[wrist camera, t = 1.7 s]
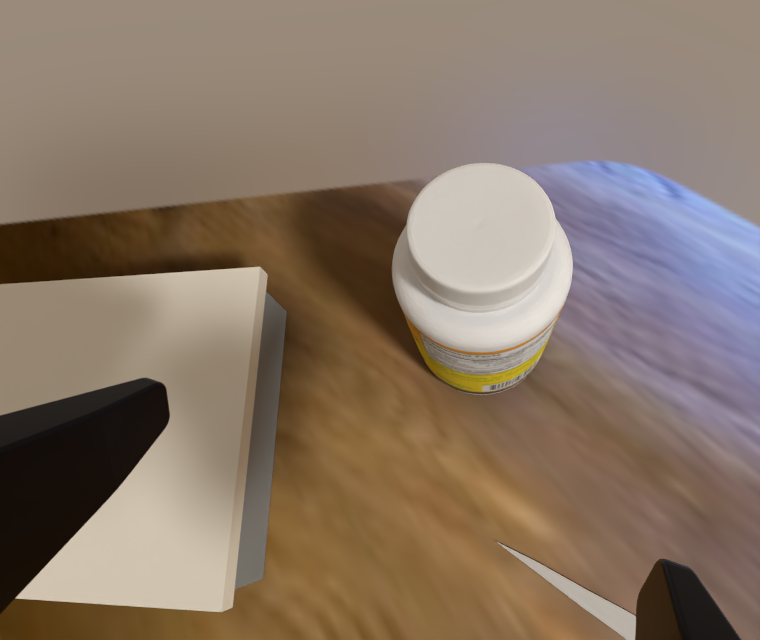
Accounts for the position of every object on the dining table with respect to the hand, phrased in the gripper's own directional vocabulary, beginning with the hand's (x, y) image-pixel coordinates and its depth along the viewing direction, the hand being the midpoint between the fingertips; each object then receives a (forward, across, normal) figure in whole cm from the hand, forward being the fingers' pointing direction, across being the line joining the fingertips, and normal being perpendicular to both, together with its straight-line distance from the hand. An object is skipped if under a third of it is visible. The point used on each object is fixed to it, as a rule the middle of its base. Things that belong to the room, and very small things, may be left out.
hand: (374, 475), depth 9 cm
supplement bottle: (+14, 0, +5) cm, 15 cm away
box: (+7, +16, +11) cm, 21 cm away
